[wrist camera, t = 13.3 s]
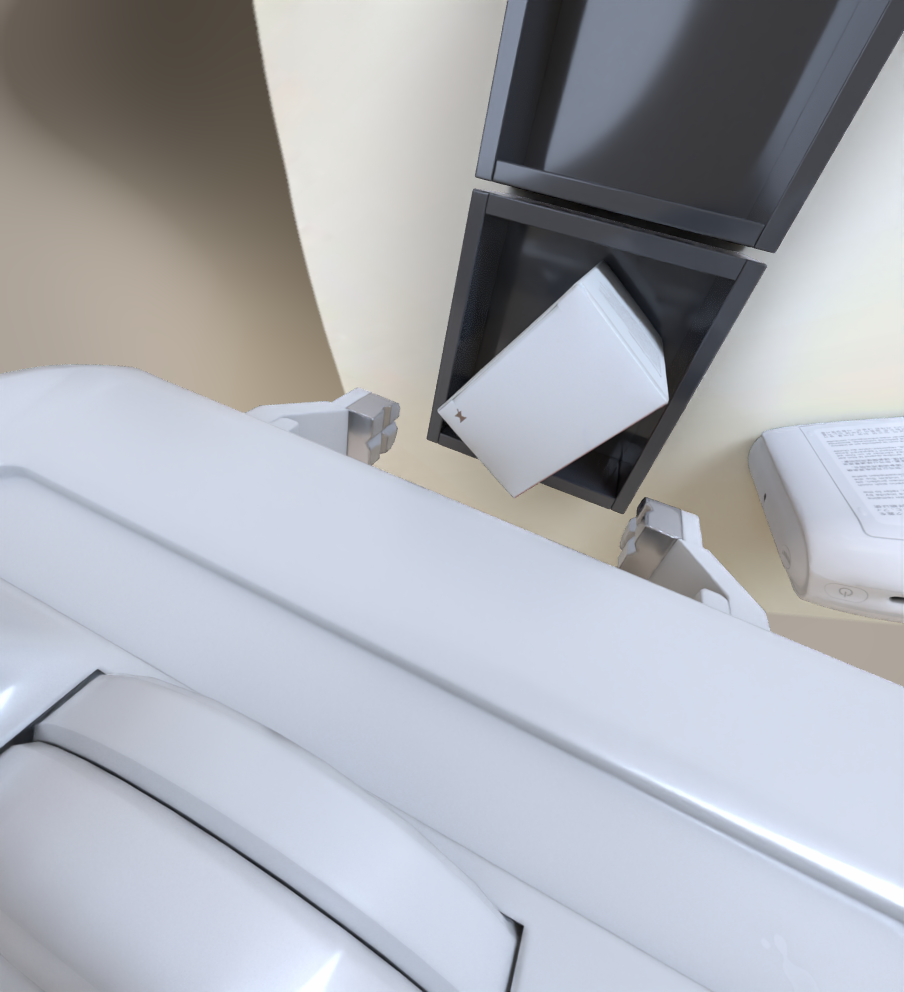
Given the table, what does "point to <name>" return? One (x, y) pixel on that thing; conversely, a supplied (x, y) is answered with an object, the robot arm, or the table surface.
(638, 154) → the basin
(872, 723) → the robot arm
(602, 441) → the small box
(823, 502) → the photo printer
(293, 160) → the table surface
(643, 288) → the basin
